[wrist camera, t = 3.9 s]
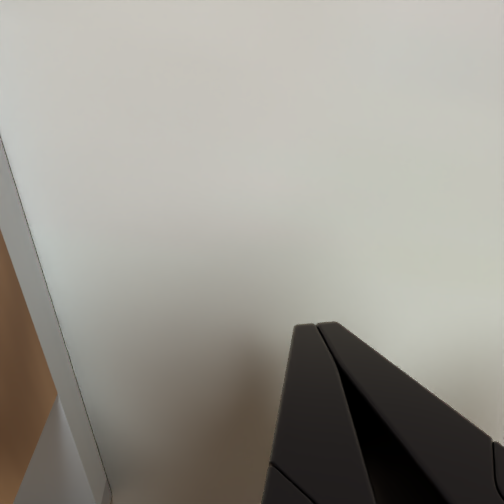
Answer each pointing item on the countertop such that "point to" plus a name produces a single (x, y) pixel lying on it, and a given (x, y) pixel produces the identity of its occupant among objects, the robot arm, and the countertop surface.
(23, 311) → the walnut block
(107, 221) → the countertop surface
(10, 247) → the board
